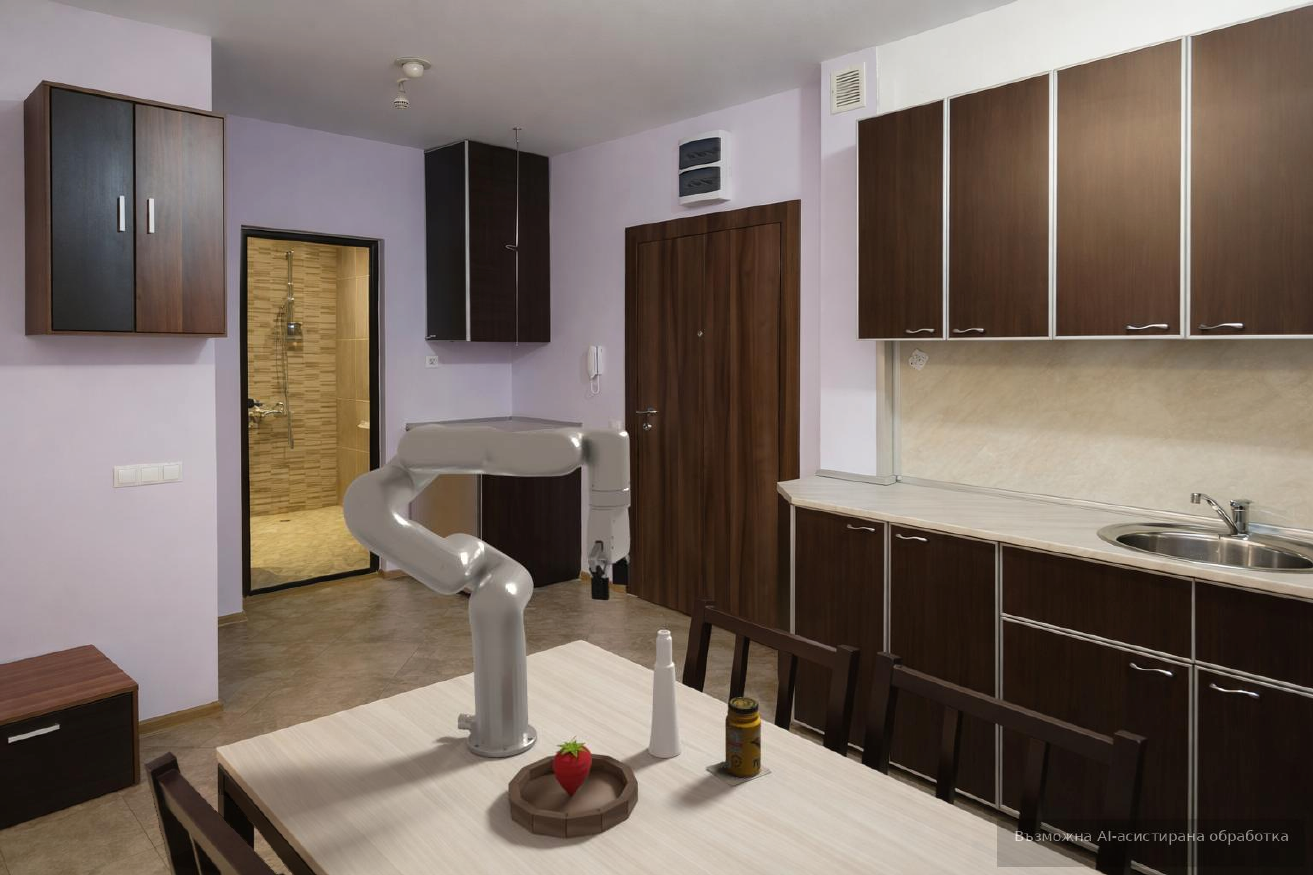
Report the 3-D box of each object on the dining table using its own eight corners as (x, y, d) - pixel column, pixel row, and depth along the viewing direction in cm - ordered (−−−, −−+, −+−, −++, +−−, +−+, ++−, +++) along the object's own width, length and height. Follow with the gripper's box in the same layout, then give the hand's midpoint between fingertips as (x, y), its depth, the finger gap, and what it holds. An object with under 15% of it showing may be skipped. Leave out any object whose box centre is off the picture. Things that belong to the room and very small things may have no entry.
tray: (488, 826, 126) (487, 807, 126) (540, 763, 145) (539, 747, 145) (613, 845, 121) (613, 825, 121) (650, 777, 140) (650, 760, 140)
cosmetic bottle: (655, 740, 154) (653, 624, 151) (686, 745, 152) (685, 627, 149) (643, 755, 148) (642, 635, 146) (675, 760, 146) (674, 638, 144)
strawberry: (599, 786, 136) (598, 727, 135) (579, 809, 129) (579, 747, 128) (566, 779, 138) (565, 721, 137) (545, 802, 131) (544, 741, 130)
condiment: (771, 772, 142) (771, 704, 140) (732, 787, 137) (732, 717, 136) (744, 755, 148) (744, 690, 146) (705, 769, 143) (705, 701, 142)
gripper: (608, 489, 158) (609, 577, 159) (569, 505, 141) (571, 603, 143) (645, 491, 155) (646, 580, 157) (610, 507, 139) (612, 607, 141)
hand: (611, 591), depth 150 cm, fingers open, 9 cm apart
